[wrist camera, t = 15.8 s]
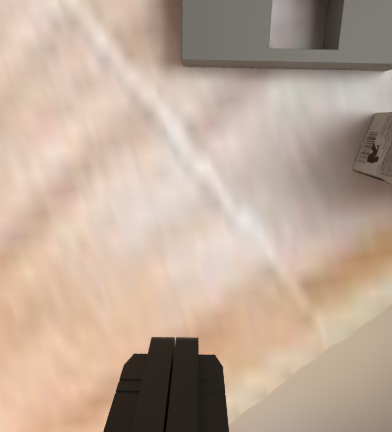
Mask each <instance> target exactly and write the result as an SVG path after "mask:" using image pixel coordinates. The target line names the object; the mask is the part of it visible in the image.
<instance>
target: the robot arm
mask: <svg viewBox="0 0 392 432" xmlns="http://www.w3.org/2000/svg"><path fill="white" fill-rule="evenodd" d="M103 432H229V427H228V417H227V406H226V396H225V385H224V375H223V366H222V365H221V363H220V362H219V360H218V359H217V357H216V356H215V355H198V338H184V337H176V343H175V338H174V337H152V338H151V342H150V347H149V351H148V354H133V356H132V357H131V358H130V359H129V360H128V361H127V362H126V363H125V365H124V367H123V370H122V373H121V376H120V381H119V383H118V386H117V389H116V394H115V396H114V399H113V402H112V405H111V409H110V412H109V415H108V418H107V422H106V425H105V428H104V431H103Z"/></svg>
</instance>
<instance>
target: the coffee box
mask: <svg viewBox="0 0 392 432" xmlns="http://www.w3.org/2000/svg"><path fill="white" fill-rule="evenodd" d="M353 170H354V171H355V172H358V173H361V174H364V175H367V176H370V177H373V178H376V179H379V180H382V181H385V182H387V183H390V184H392V112H389V113H376V114H375V116H374V118H373V120H372V123H371V125H370V128H369V130H368V132H367V135H366V137H365V139H364V142H363V144H362V147H361V149H360V151H359V154H358V156H357V159H356V161H355V163H354V166H353Z"/></svg>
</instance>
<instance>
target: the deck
mask: <svg viewBox="0 0 392 432" xmlns="http://www.w3.org/2000/svg"><path fill="white" fill-rule="evenodd" d="M271 10H272V0H182V61H183V64H184V66H188V67H236V68H284V69H332V70H380V71H387V70H391V69H392V0H329V1H328V10H327V19H326V28H325V37H324V45H323V50H317V49H269V37H270V24H271Z"/></svg>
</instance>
